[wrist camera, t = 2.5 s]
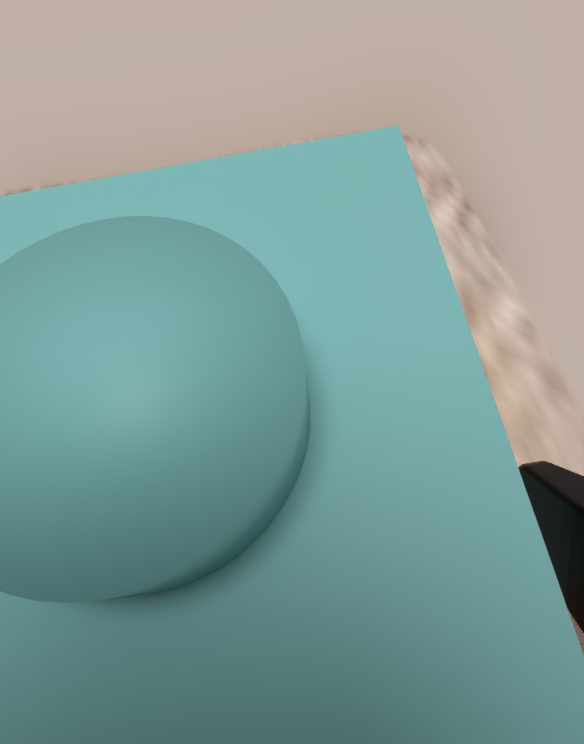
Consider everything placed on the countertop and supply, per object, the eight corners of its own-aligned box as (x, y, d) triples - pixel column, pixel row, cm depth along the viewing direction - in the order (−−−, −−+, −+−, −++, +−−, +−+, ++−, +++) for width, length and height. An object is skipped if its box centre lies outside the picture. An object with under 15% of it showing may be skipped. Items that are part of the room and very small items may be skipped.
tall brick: (381, 605, 14) (753, 870, 2) (222, 631, 14) (-540, 1083, 2) (348, 448, 16) (411, 36, 4) (208, 472, 16) (-200, 149, 4)
